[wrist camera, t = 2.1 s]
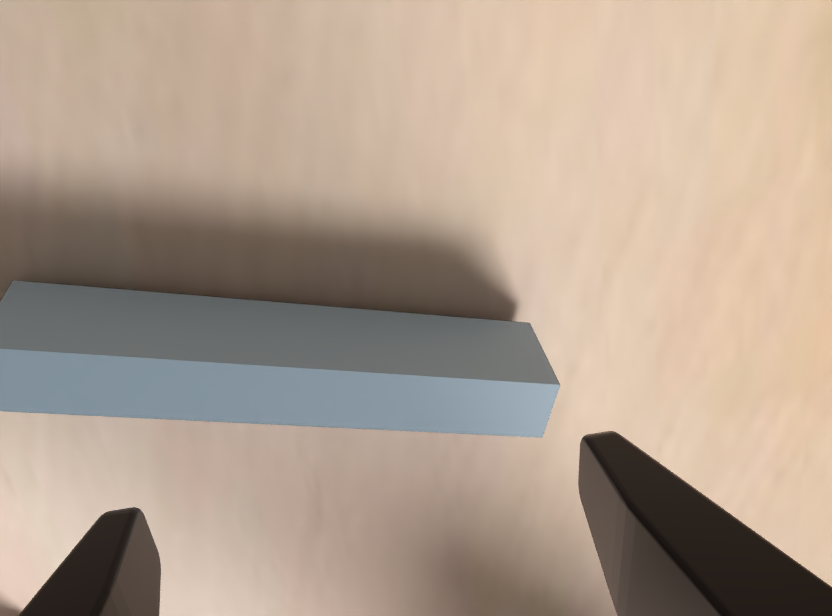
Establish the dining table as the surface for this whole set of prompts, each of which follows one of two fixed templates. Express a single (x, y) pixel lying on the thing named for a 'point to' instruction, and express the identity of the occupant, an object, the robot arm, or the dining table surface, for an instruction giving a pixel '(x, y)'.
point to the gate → (267, 363)
